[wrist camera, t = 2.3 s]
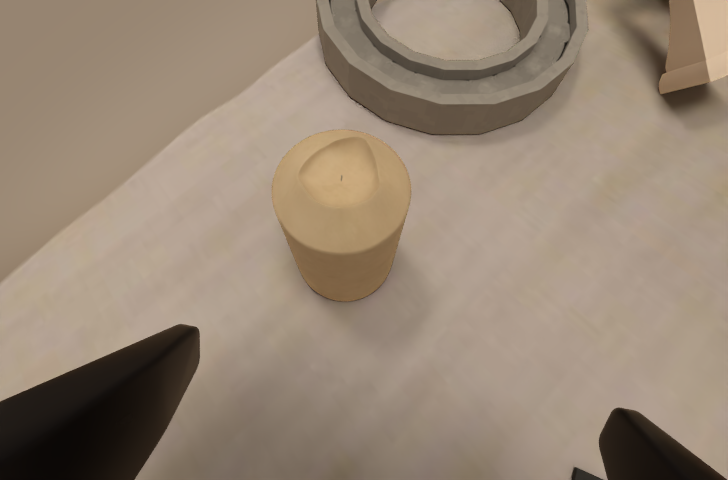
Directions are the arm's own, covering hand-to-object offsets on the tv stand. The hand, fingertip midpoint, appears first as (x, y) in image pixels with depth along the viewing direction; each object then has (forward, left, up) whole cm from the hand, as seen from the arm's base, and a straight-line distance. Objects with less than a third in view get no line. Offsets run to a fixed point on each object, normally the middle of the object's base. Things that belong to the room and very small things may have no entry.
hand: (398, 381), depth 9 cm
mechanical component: (+25, +5, -14) cm, 29 cm away
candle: (+6, +4, -14) cm, 16 cm away
